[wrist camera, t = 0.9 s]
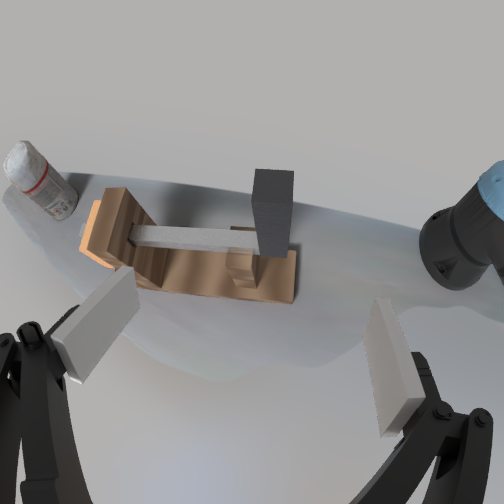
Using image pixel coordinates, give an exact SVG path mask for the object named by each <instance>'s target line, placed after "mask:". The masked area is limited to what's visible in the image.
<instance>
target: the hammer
mask: <svg viewBox="0 0 504 504" xmlns="http://www.w3.org/2000/svg"><path fill="white" fill-rule="evenodd" d="M293 181H294V171H287V170H270V169H256V170H255V177H254V185H253V193H252V201H251V202H252V208H253V215H254V221H255V227H256V231H241V230H224V229H207V228H189V227H169V226H148V225H131V229H130V232H129V236H128V240H127V241H128V242H129V243H130V244H131V245H134V246H147V247H160V248H174V249H187V250H200V251H214V252H227V253H241V254H254V255H260V256H264V257H278V258H287V254H288V245H289V235H290V225H291V215H292V204H293ZM86 225H87V223H83V224H82V227H81V230H80V234H79V237H80V238H83V234H84V231H85V228H86Z"/></svg>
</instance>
